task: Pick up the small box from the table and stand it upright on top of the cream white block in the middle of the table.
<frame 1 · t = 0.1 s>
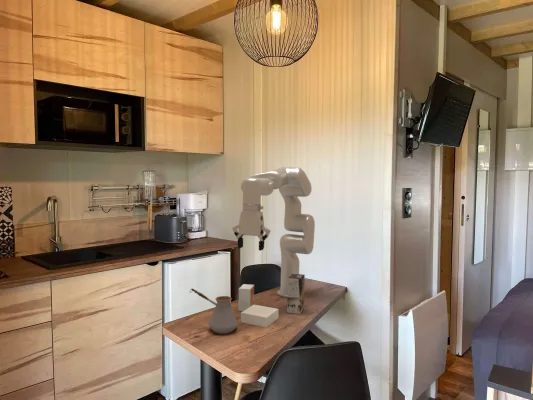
hand: (250, 248, 167), 31 cm above the table, tool pointing down, fingers open, 9 cm apart
coffee box: (295, 310, 184), on the table
small box: (246, 309, 185), on the table
coffee pot: (212, 328, 161), on the table
cream white block: (259, 321, 171), on the table
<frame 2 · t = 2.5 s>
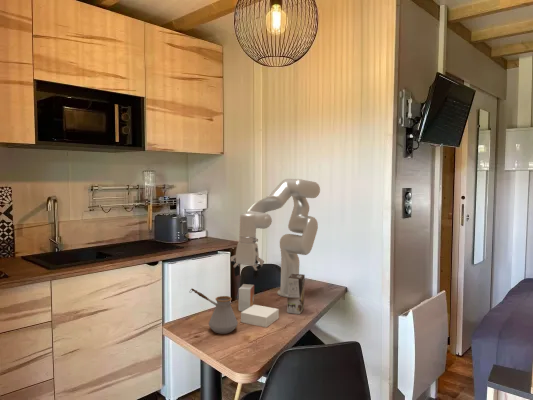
hand: (246, 277, 184), 15 cm above the table, tool pointing down, fingers open, 9 cm apart
nothing on the table moved.
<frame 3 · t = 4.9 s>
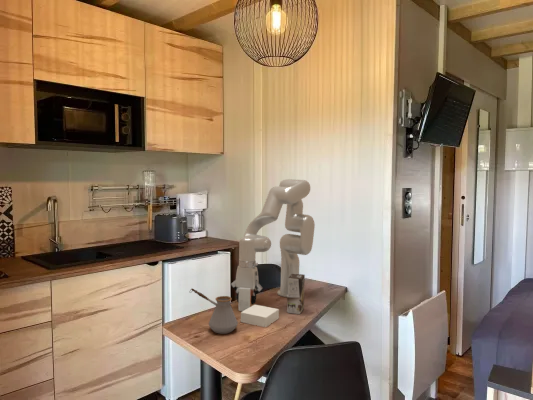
hand: (246, 301, 185), 3 cm above the table, tool pointing down, fingers closed on small box, 6 cm apart
small box: (246, 309, 185), on the table, touching gripper
everything else where it was.
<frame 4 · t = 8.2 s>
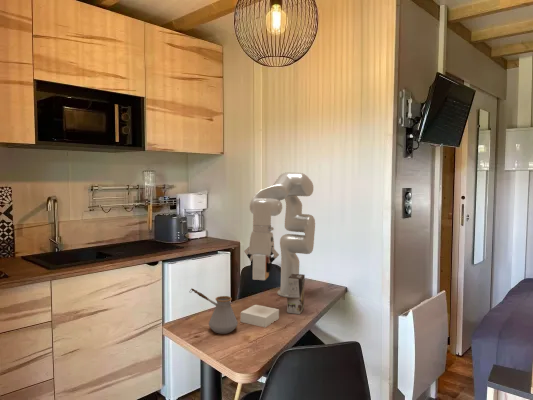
hand: (260, 270, 170), 22 cm above the table, tool pointing down, fingers closed on small box, 6 cm apart
small box: (260, 278, 170), point 18 cm above the table, touching gripper
everything else where it was.
when the fingers open (9 cm above the table, at t = 11.7 s): small box drops 2 cm, resting on cream white block.
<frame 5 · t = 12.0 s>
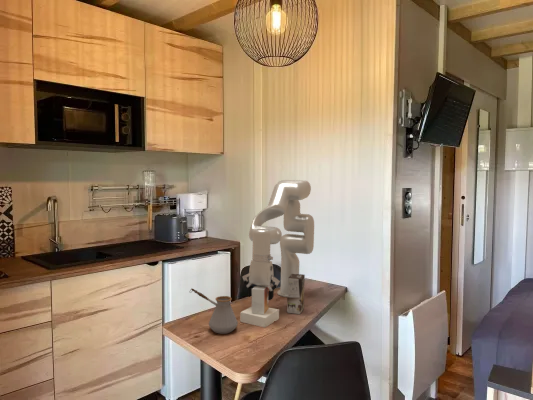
hand: (260, 297, 170), 10 cm above the table, tool pointing down, fingers open, 9 cm apart
small box: (260, 311, 170), point 4 cm above the table, touching cream white block
cream white block: (259, 321, 171), on the table, touching small box
everything else where it was.
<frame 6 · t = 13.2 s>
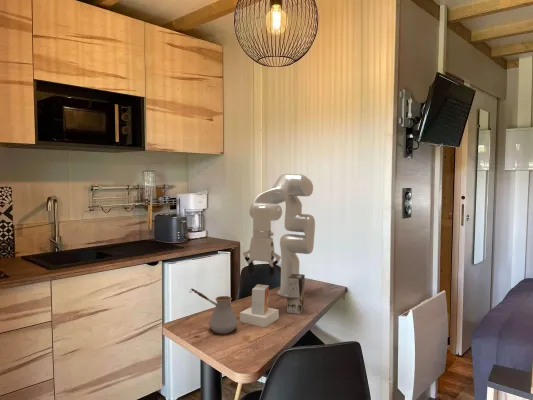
hand: (261, 273, 170), 20 cm above the table, tool pointing down, fingers open, 9 cm apart
small box: (260, 311, 170), point 4 cm above the table
cream white block: (259, 321, 171), on the table
everything else where it was.
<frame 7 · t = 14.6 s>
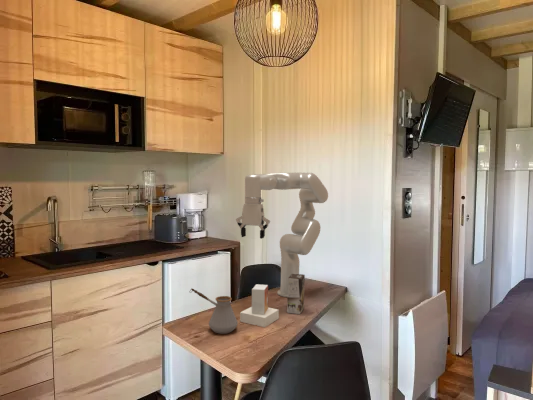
hand: (252, 237, 188), 33 cm above the table, tool pointing down, fingers open, 9 cm apart
small box: (260, 311, 170), point 4 cm above the table, touching cream white block
cream white block: (259, 321, 171), on the table, touching small box
everything else where it was.
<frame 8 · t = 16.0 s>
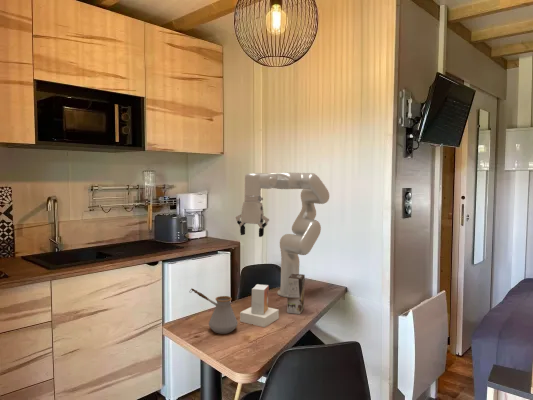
hand: (251, 235, 189), 33 cm above the table, tool pointing down, fingers open, 9 cm apart
nothing on the table moved.
at the end: small box inside the target area on the cream white block (0.2 cm from its centre), point 4.3 cm above the cream white block's base; small box tilted 0°; the gripper is holding nothing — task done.
